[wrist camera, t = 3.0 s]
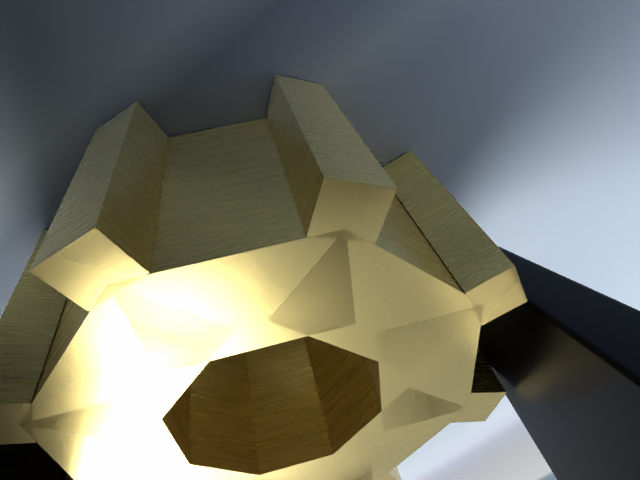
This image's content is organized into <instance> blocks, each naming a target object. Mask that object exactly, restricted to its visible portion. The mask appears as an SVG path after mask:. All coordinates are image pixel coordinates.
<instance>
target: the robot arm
mask: <svg viewBox="0 0 640 480" xmlns="http://www.w3.org/2000/svg"><path fill="white" fill-rule="evenodd" d="M498 248H499V249H500V250H501V251H502V252H503V253H504V254H505V255H506V256H507V258H508V259H509V260H510V261H511V262H512V263H513V264H514V265H515V268H516V270H517V273H518V276H519V278H520V281H521V284H522V287H523V289H524V292H525V295H526V298H527V300H528V301H527V302H525V303H523V304H521V305H519V306H517V307H516V308H514V309H512V310H510V311H508V312H506V313H504V314H503V315H501V316H499V317H497V318H495V319H493V320H491V321H489V322H488V323H486V324H484V325H481V327H480V334H479V341H478V349H479V351H480V353H481V355H482V356H483V358H484V359H485V360H486V362H487V363H488V364H489V366H490V367H491V369H492V370H493V372H494V373H495V375H496V376H497V378H498V379H499V381H500V383H501V384H502V386H503V387H504V389H505V390H506V392H507V393H506V396H507V398H508V399H509V401H510V403H511V404H512V406H513V408H514V409H515V411H516V413H517V414H518V416H519V417H520V419H521V421H522V422H523V424H524V426H525V427H526V429H527V431H528V432H529V434H530V436H531V437H532V439H533V440H534V442H535V444H536V445H537V447H538V449H539V450H540V452H541V454H542V455H543V457H544V459H545V460H546V462H547V464H548V465H549V467H550V468H551V470H552V472H553V473H554V475H555V477H556V478H557V480H640V311H639V310H637V309H634V308H632V307H630V306H628V305H626V304H623V303H621V302H619V301H617V300H615V299H612V298H610V297H608V296H606V295H604V294H601V293H599V292H597V291H595V290H593V289H590V288H588V287H586V286H584V285H582V284H580V283H577V282H575V281H573V280H571V279H569V278H566V277H564V276H562V275H560V274H558V273H555V272H553V271H551V270H549V269H547V268H544V267H542V266H540V265H538V264H536V263H533V262H531V261H529V260H527V259H525V258H523V257H520V256H518V255H516V254H514V253H512V252H509V251H507V250H505V249H503V248H501V247H498ZM66 474H67V472H66V471H65V470H64V469H63V468H62V467H61V466H60V465H59V464H58V463H57V462H56V461H55V460H54V459H53V458H52V457H51V456H50V455H49V454H48V453H47V452H46V451H45V450H44V449H43V448H42V447H41V446H40V445H39V444H38V443H37V442H36V443H20V444H0V480H65V477H66Z"/></svg>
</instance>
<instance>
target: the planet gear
mask: <svg viewBox="0 0 640 480" xmlns="http://www.w3.org/2000/svg"><path fill="white" fill-rule="evenodd" d="M266 117H267V118H262V119H257V120H252V121H247V122H242V123H238V124H233V125H228V126H223V127H218V128H213V129H208V130H203V131H198V132H193V133H188V134H183V135H178V136H173V137H168V136H167V135H166V134H165V133H164V131H163V130H162V129H161V128H160V127H159V126H158V125H157V123H156V122H155V121H154V120H153V119H152V118H151V117H150V116H149V114H148V113H147V112H146V111H145V110H144V109H143V108H142V107H141V105H140V104H139V103H138V102H137V101H136V102H135V103H133V104H132V105H130V106H129V107H128V108H126V109H125V110H123V111H122V112H120V113H119V114H118V115H116V116H115V117H113V118H112V119H110V120H109V121H108V122H106V123H105V124H103V125H102V126H100V127H99V128H98V129H96V131H95V133H94V135H93V137H92V139H91V141H90V144H89V146H88V148H87V150H86V152H85V154H84V156H83V158H82V160H81V163H80V165H79V167H78V169H77V171H76V173H75V175H74V177H73V179H72V181H71V184H70V186H69V188H68V190H67V192H66V194H65V196H64V198H63V200H62V203H61V205H60V207H59V209H58V211H57V213H56V215H55V217H54V219H53V222H52V224H51V226H50V228H49V230H44V231H43V233H42V235H41V237H40V239H39V241H38V243H37V245H36V247H35V249H34V251H33V253H32V255H31V257H30V259H29V261H28V263H27V265H26V267H25V270H24V272H23V274H22V276H21V278H20V280H19V282H18V284H17V286H16V288H15V290H14V292H13V294H12V296H11V298H10V300H9V302H8V304H7V306H6V308H5V310H4V312H3V314H2V317H1V319H0V444H20V443H36V442H37V443H38V444H39V445H40V446H41V447H42V448H43V449H44V450H45V451H46V452H47V453H48V454H49V455H50V456H51V457H52V458H53V459H54V460H55V461H56V462H57V463H58V464H59V465H60V466H61V467H62V468H63V469H64V470H65V471H66V472H67V474H66V477H65V480H401V478H400V475H399V472H398V469H397V467H396V466H397V465H399V464H400V463H401V462H402V461H404V460H405V459H406V458H407V457H409V456H410V455H411V454H412V453H413V452H415V451H416V450H417V449H418V448H420V447H421V446H422V445H423V444H425V443H426V442H427V441H428V440H430V439H431V438H432V437H433V436H435V435H436V434H437V433H438V432H440V431H441V430H442V429H443V428H445V427H446V426H447V425H448V424H449V423H454V422H474V421H485V420H486V419H487V418H488V416H489V415H490V414H491V412H492V411H493V410H494V408H495V407H496V406H497V404H498V403H499V402H500V400H501V399H502V398H503V397H504V395H505V394H506V393H507V392H506V390H505V389H504V387H503V386H502V384H501V383H500V381H499V379H498V378H497V376H496V375H495V373H494V372H493V370H492V369H491V367H490V366H489V364H488V363H487V362H486V360H485V359H484V358H483V356H482V355H481V353H480V351H479V349H478V341H479V334H480V327H481V325H484V324H486V323H488V322H489V321H491V320H493V319H495V318H497V317H499V316H501V315H503V314H504V313H506V312H508V311H510V310H512V309H514V308H516V307H517V306H519V305H521V304H523V303H525V302H527V301H528V300H527V298H526V295H525V292H524V289H523V287H522V284H521V281H520V278H519V276H518V273H517V270H516V268H515V265H514V264H513V263H512V262H511V261H510V260H509V259H508V258H507V256H506V255H505V254H504V253H503V252H502V251H501V250H500V249H499V248H498V246H497V245H496V244H495V243H494V242H493V241H492V240H491V239H490V238H489V236H488V235H487V234H486V233H485V232H484V231H483V230H482V229H481V228H480V226H479V225H478V224H477V223H476V222H475V221H474V220H473V219H472V218H471V216H470V215H469V214H468V213H467V212H466V211H465V210H464V209H463V208H462V206H461V205H460V204H459V203H458V202H457V201H456V200H455V199H454V198H453V196H452V195H451V194H450V193H449V192H448V191H447V190H446V189H445V188H444V186H443V185H442V184H441V183H440V182H439V181H438V180H437V179H436V177H435V176H434V175H433V174H432V173H431V172H430V171H429V170H428V169H427V167H426V166H425V165H424V164H423V163H422V162H421V161H420V160H419V159H418V157H417V156H416V155H415V154H414V153H413V152H412V151H411V150H410V151H409V152H407V153H406V154H404V155H402V156H401V157H399V158H397V159H396V160H394V161H393V162H391V163H389V164H388V165H386V166H384V167H382V166H381V165H380V163H379V162H378V160H377V159H376V158H375V156H374V155H373V153H372V152H371V151H370V149H369V148H368V147H367V145H366V144H365V142H364V141H363V140H362V138H361V137H360V136H359V134H358V133H357V131H356V130H355V129H354V127H353V126H352V125H351V123H350V122H349V120H348V119H347V118H346V116H345V115H344V114H343V112H342V111H341V109H340V108H339V107H338V105H337V104H336V103H335V101H334V100H333V98H332V97H331V96H330V94H329V93H328V92H327V90H326V89H325V87H324V86H323V85H322V84H317V83H313V82H308V81H303V80H299V79H294V78H290V77H285V76H280V75H276V74H275V77H274V82H273V87H272V92H271V96H270V101H269V106H268V111H267V116H266Z"/></svg>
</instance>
